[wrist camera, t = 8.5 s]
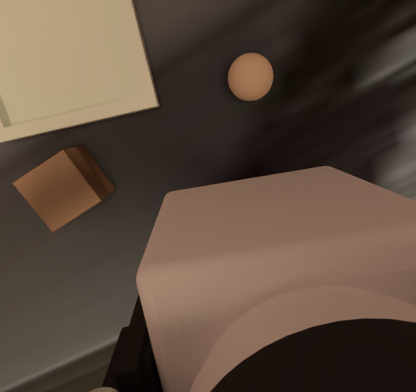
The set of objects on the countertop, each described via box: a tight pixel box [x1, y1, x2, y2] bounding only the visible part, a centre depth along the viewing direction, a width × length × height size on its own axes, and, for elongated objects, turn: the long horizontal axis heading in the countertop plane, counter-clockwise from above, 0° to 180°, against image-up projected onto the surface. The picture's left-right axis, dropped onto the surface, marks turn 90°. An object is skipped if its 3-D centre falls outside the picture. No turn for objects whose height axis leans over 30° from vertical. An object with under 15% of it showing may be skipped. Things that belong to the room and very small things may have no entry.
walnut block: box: [13, 145, 115, 232], centre depth 25 cm, size 4×4×4 cm
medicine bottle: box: [136, 166, 416, 392], centre depth 8 cm, size 7×7×12 cm
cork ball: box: [228, 53, 273, 101], centre depth 24 cm, size 4×4×4 cm
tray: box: [0, 0, 160, 143], centre depth 24 cm, size 13×13×2 cm
